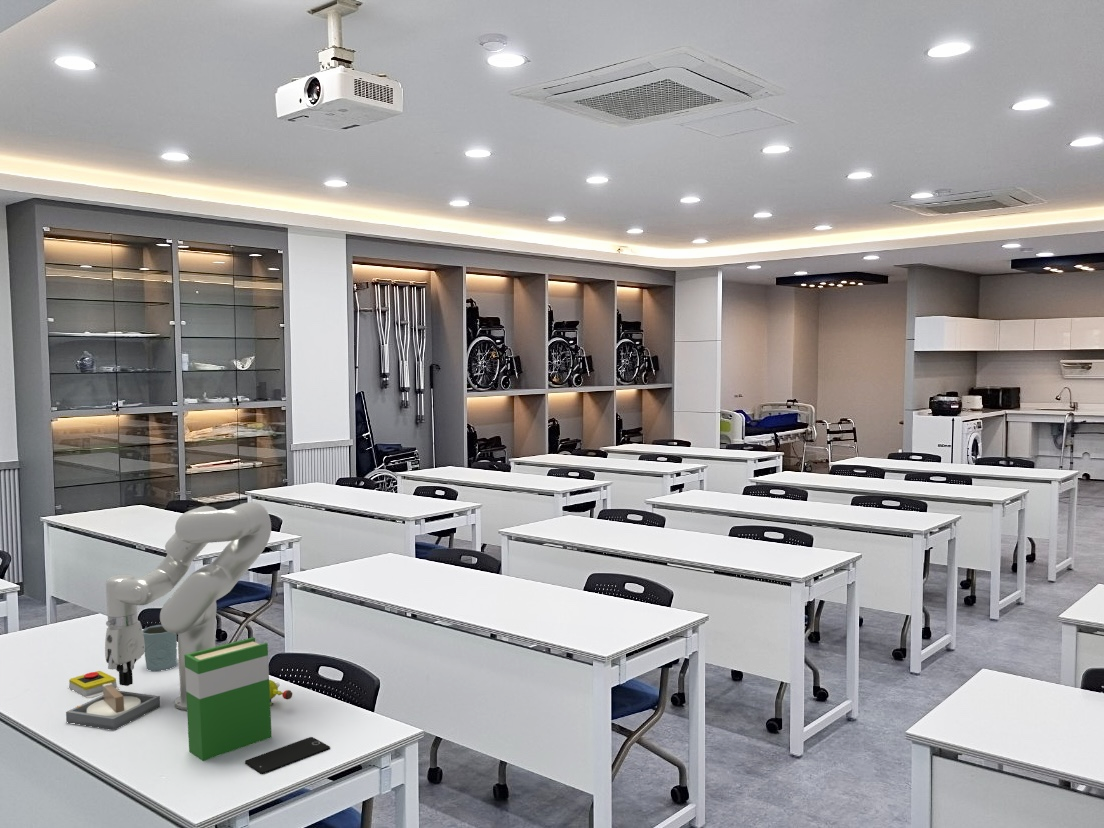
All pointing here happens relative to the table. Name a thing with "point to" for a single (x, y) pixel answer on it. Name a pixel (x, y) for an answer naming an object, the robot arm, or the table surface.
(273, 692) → the toy figure
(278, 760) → the cell phone
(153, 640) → the teal cup
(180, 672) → the robot arm
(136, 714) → the dial housing
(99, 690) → the emergency button
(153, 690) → the table surface
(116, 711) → the dial
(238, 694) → the hardback book
